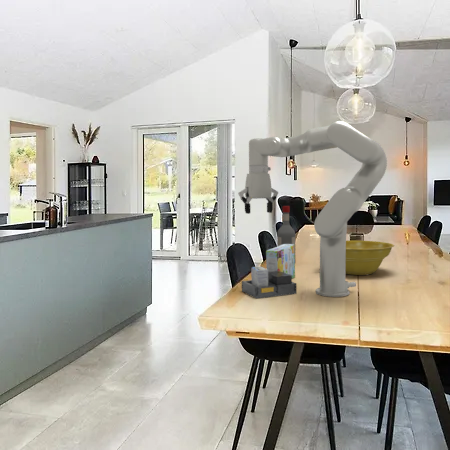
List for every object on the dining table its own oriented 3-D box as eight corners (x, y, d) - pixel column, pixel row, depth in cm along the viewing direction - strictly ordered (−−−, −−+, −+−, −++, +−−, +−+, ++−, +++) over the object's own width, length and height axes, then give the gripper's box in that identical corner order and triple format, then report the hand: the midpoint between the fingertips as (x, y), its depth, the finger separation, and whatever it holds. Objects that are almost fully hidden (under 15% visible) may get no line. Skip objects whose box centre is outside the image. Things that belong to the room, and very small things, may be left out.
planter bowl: (321, 265, 237) (321, 239, 236) (388, 267, 230) (389, 240, 229) (321, 278, 206) (321, 248, 204) (399, 280, 199) (399, 249, 198)
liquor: (294, 262, 249) (294, 205, 246) (295, 265, 240) (295, 206, 237) (277, 262, 250) (277, 205, 247) (277, 265, 241) (277, 206, 238)
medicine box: (268, 292, 177) (268, 269, 176) (257, 293, 176) (257, 270, 175) (262, 287, 184) (261, 266, 184) (251, 288, 183) (251, 266, 183)
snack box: (283, 276, 212) (283, 243, 211) (295, 277, 209) (295, 244, 208) (265, 286, 193) (265, 249, 192) (278, 287, 191) (278, 250, 189)
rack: (279, 286, 191) (279, 269, 190) (296, 293, 179) (296, 275, 178) (241, 291, 184) (241, 273, 184) (256, 298, 172) (256, 280, 172)
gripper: (273, 170, 194) (273, 211, 195) (234, 170, 187) (235, 213, 189) (282, 169, 187) (282, 212, 188) (242, 169, 180) (243, 214, 182)
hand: (258, 212), depth 188 cm, fingers open, 9 cm apart
